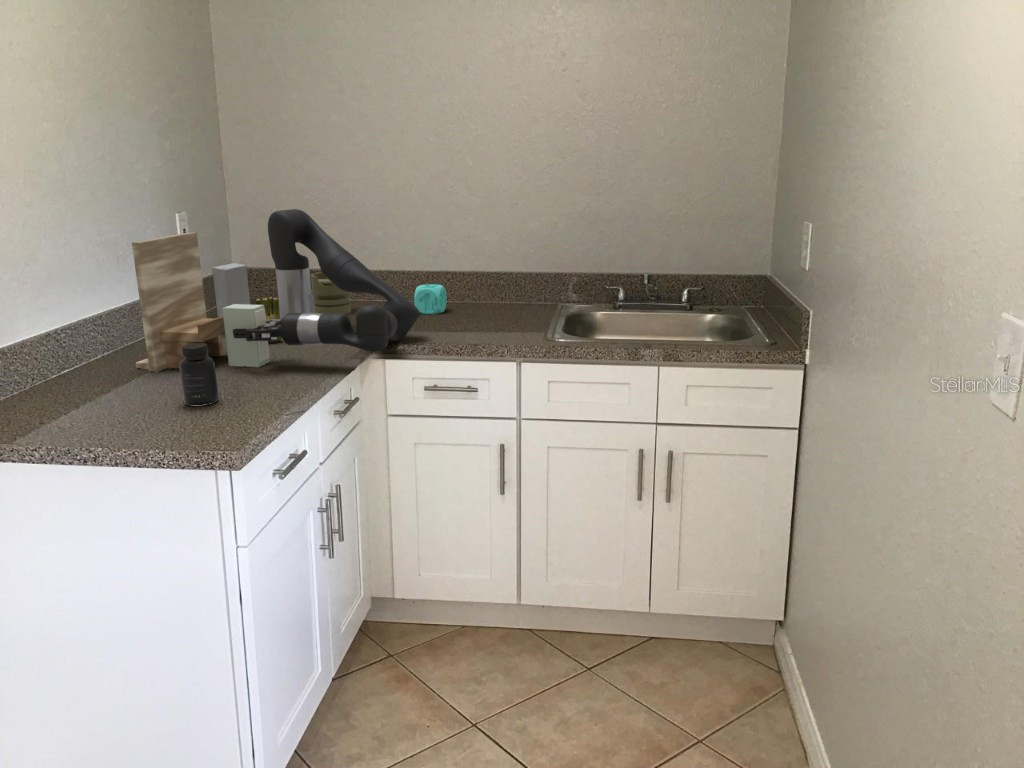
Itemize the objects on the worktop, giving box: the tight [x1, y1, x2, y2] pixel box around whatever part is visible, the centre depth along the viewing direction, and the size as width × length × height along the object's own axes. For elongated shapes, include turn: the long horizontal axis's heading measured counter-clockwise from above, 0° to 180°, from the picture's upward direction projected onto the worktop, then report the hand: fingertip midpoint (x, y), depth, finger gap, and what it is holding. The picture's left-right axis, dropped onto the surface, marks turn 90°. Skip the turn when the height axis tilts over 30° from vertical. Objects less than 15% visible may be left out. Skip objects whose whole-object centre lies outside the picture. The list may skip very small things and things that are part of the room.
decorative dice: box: [413, 283, 448, 315], centre depth 262 cm, size 8×8×8 cm
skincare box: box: [211, 262, 251, 318], centre depth 259 cm, size 8×7×16 cm
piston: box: [310, 271, 352, 315], centre depth 263 cm, size 11×12×11 cm
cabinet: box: [223, 304, 271, 368], centre depth 202 cm, size 8×5×14 cm, turn 76°
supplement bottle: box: [178, 343, 220, 405], centre depth 172 cm, size 7×7×12 cm
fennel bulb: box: [255, 296, 283, 344], centre depth 225 cm, size 6×5×12 cm
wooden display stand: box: [131, 231, 225, 373], centre depth 203 cm, size 18×22×30 cm
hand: (243, 329), depth 201 cm, fingers open, 8 cm apart
